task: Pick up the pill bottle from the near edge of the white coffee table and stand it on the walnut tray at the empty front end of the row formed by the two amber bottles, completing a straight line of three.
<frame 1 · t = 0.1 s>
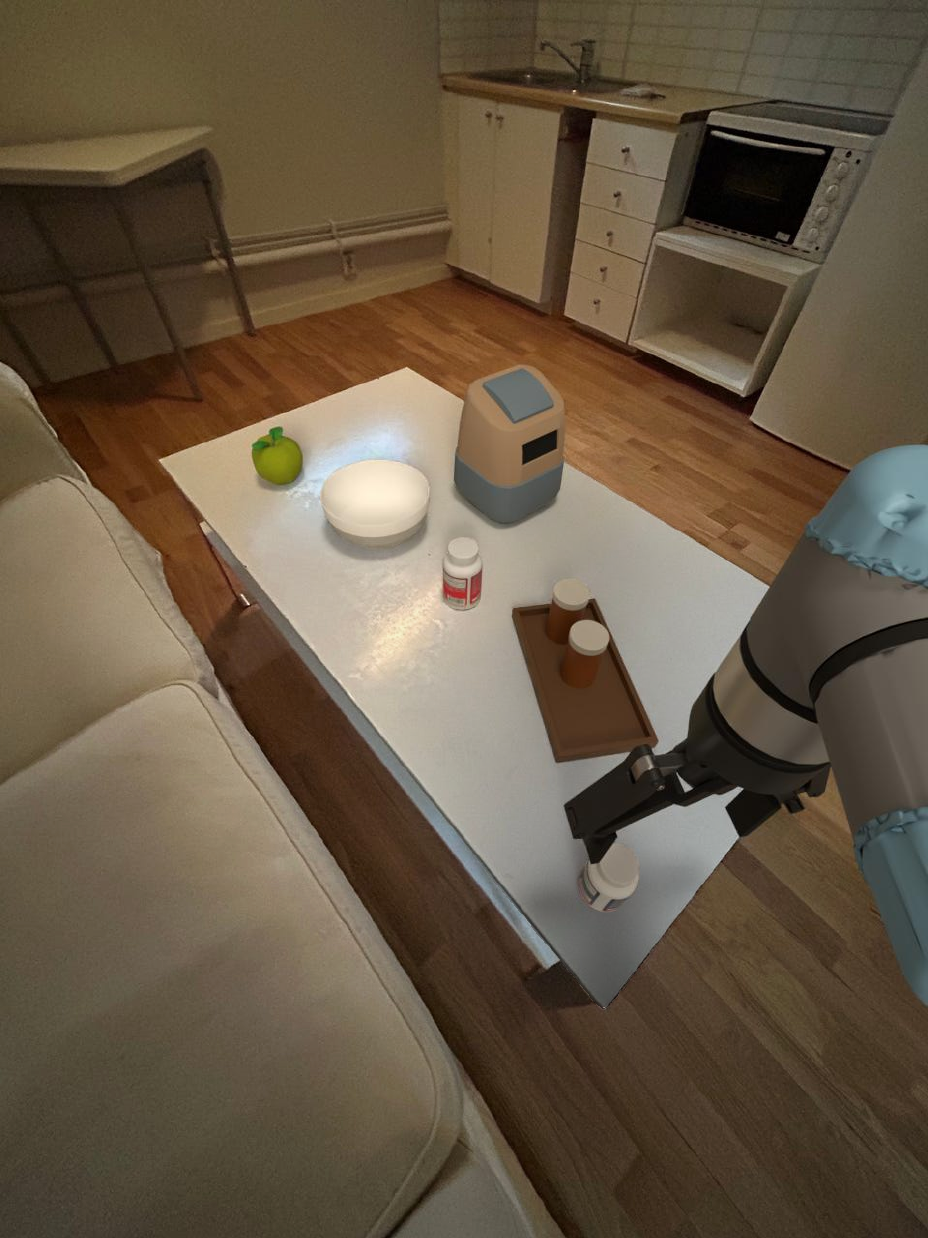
hand: (664, 834, 47), 18 cm above the table, tool pointing down, fingers open, 13 cm apart
pill bottle: (600, 887, 61), on the table
bowl: (380, 530, 100), on the table
amber bottle far: (561, 631, 84), resting on tray
pill bottle 2: (461, 598, 89), on the table
fruit: (284, 481, 109), on the table
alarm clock: (505, 498, 107), on the table
amber bottle middle: (577, 674, 79), resting on tray
tray: (576, 675, 79), on the table
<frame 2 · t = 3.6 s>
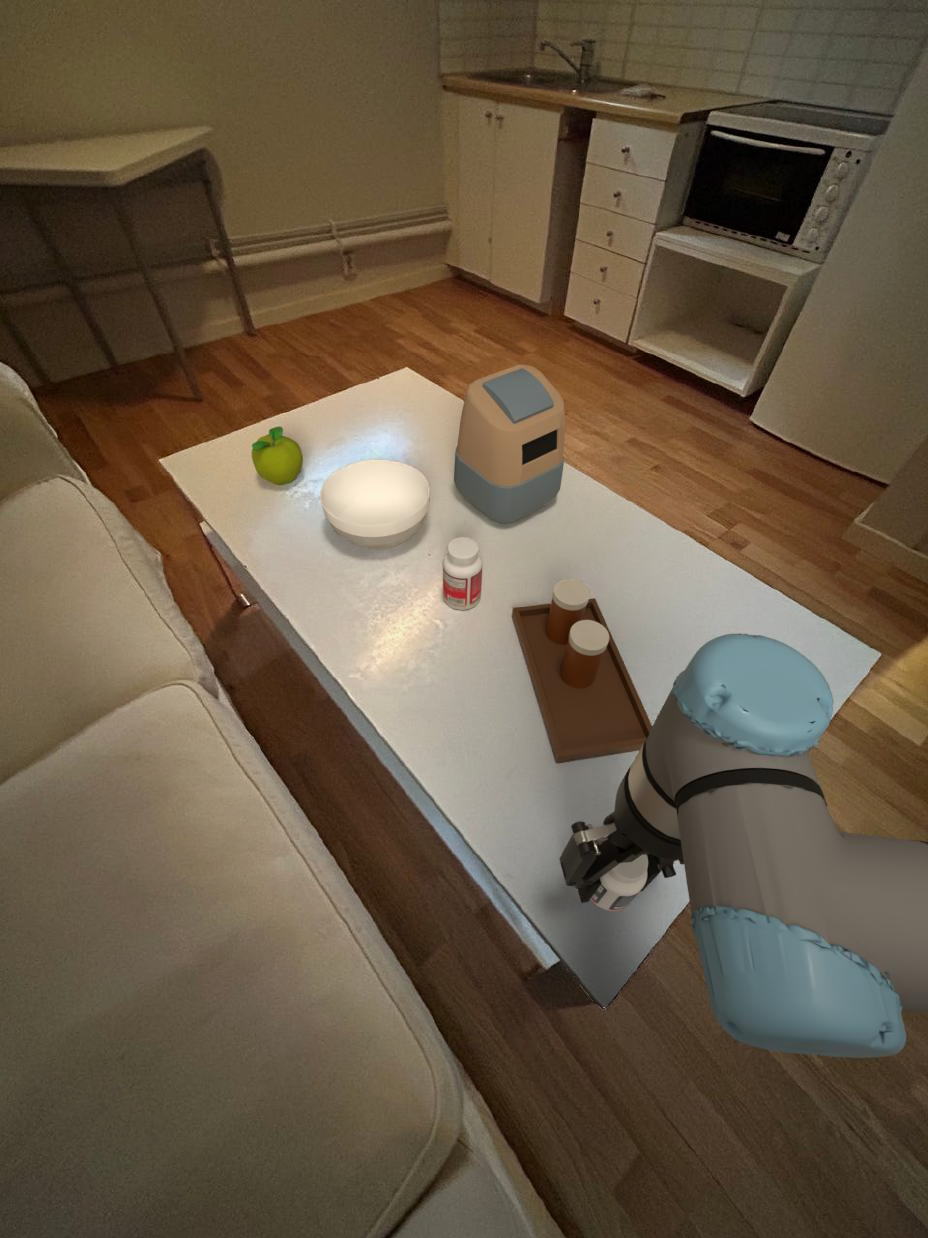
hand: (607, 883, 58), 3 cm above the table, tool pointing down, fingers closed on pill bottle, 5 cm apart
pill bottle: (607, 885, 58), point 3 cm above the table, touching gripper
everything else where it was.
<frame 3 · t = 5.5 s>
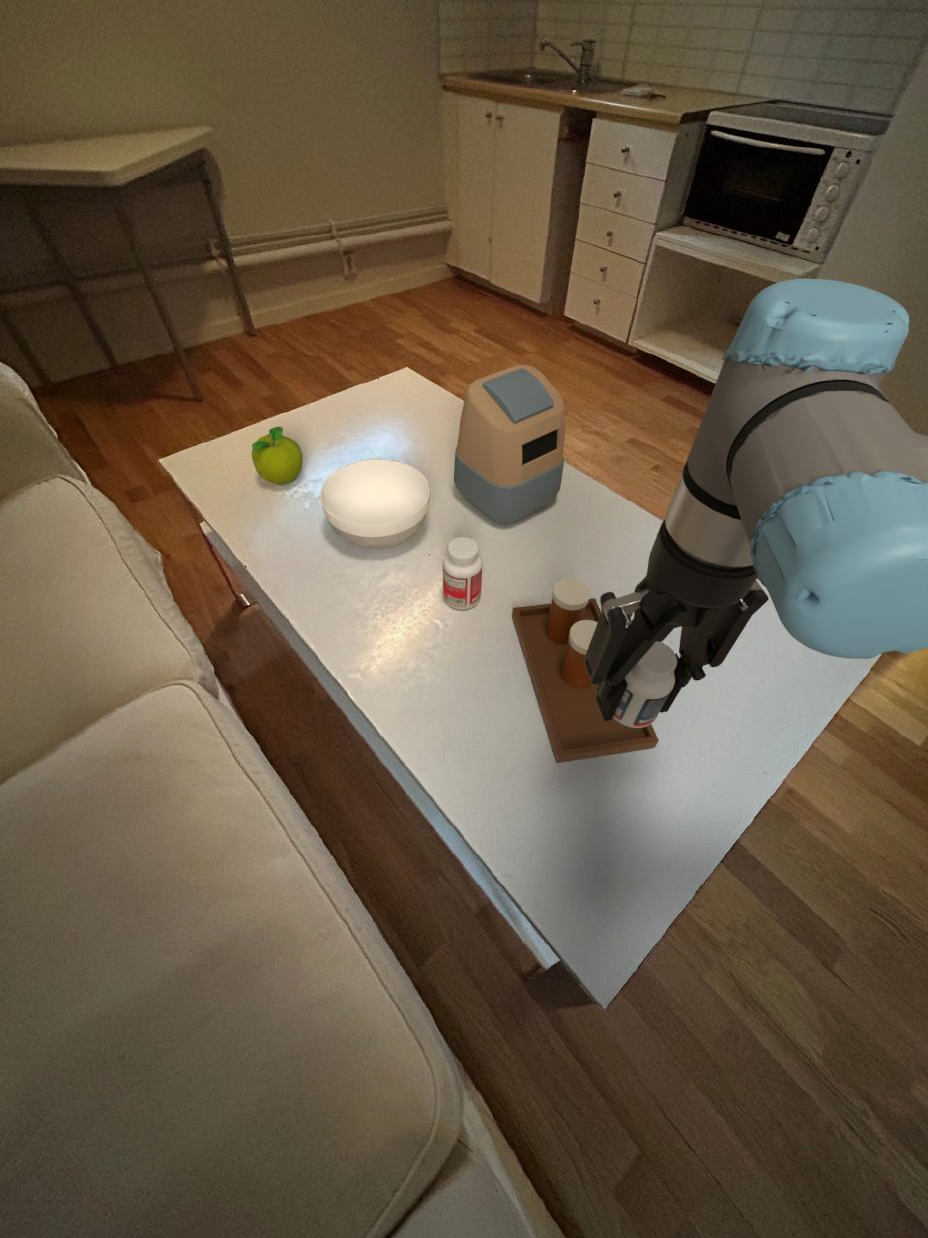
hand: (631, 704, 56), 17 cm above the table, tool pointing down, fingers closed on pill bottle, 5 cm apart
pill bottle: (630, 707, 56), point 17 cm above the table, touching gripper
everything else where it was.
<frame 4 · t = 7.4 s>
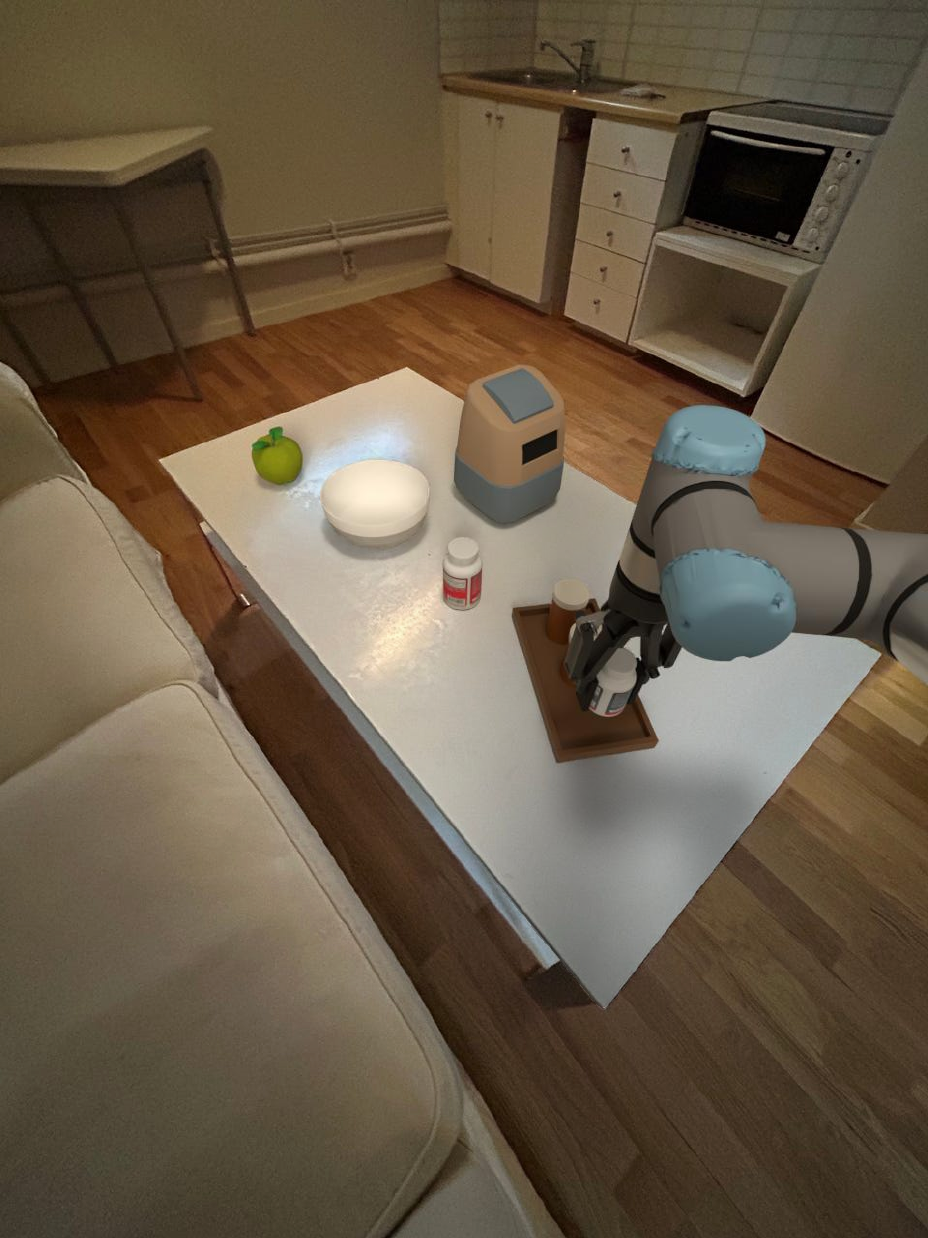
hand: (604, 698, 69), 6 cm above the table, tool pointing down, fingers closed on pill bottle, 5 cm apart
pill bottle: (603, 700, 70), point 6 cm above the table, touching gripper
everything else where it was.
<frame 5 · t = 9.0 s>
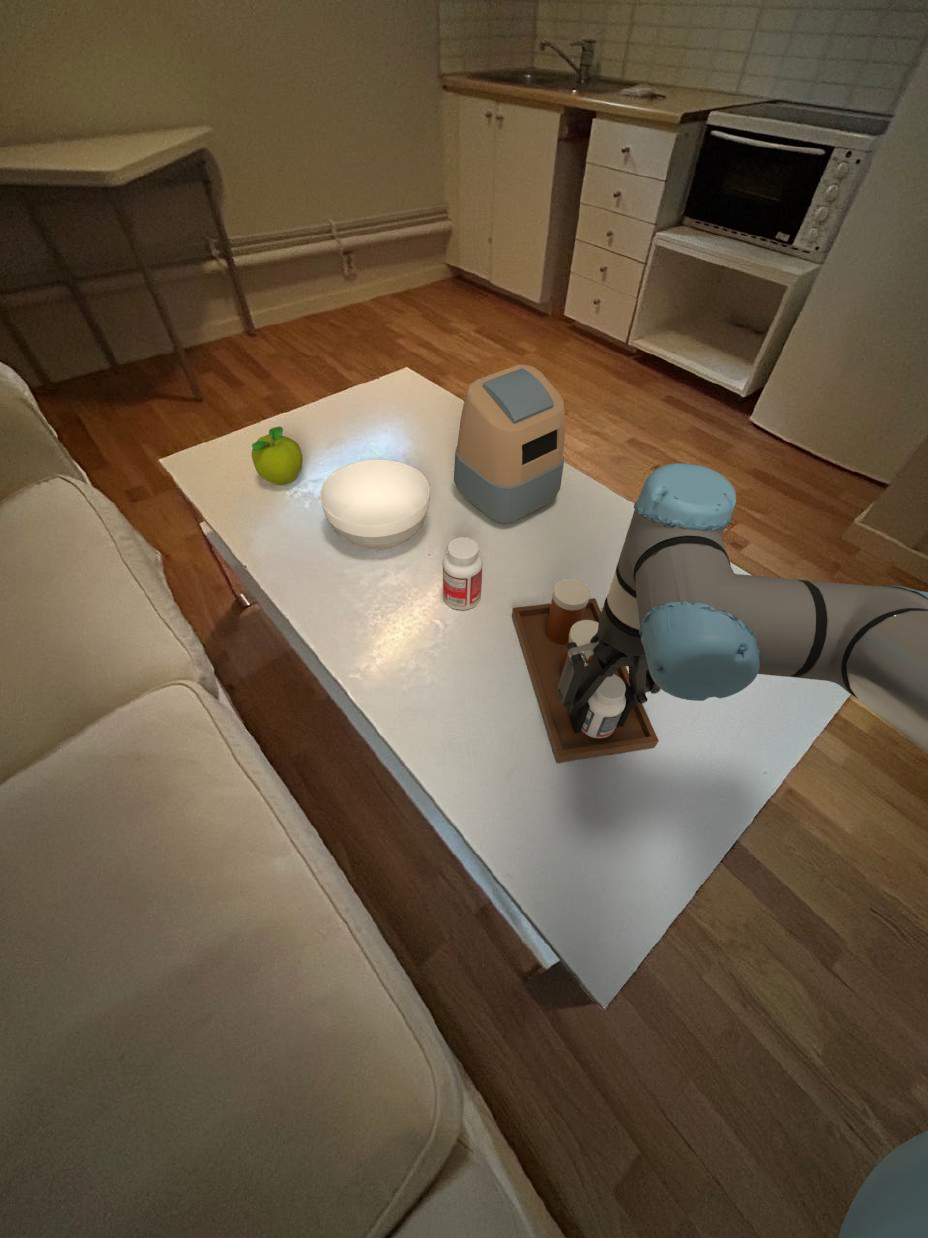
hand: (595, 720, 73), 1 cm above the table, tool pointing down, fingers closed on pill bottle, 5 cm apart
pill bottle: (595, 722, 74), point 1 cm above the table, touching gripper
everything else where it was.
when the fingers open (1 cm above the table, at t = 11.2 s): pill bottle stays where it is, resting on tray.
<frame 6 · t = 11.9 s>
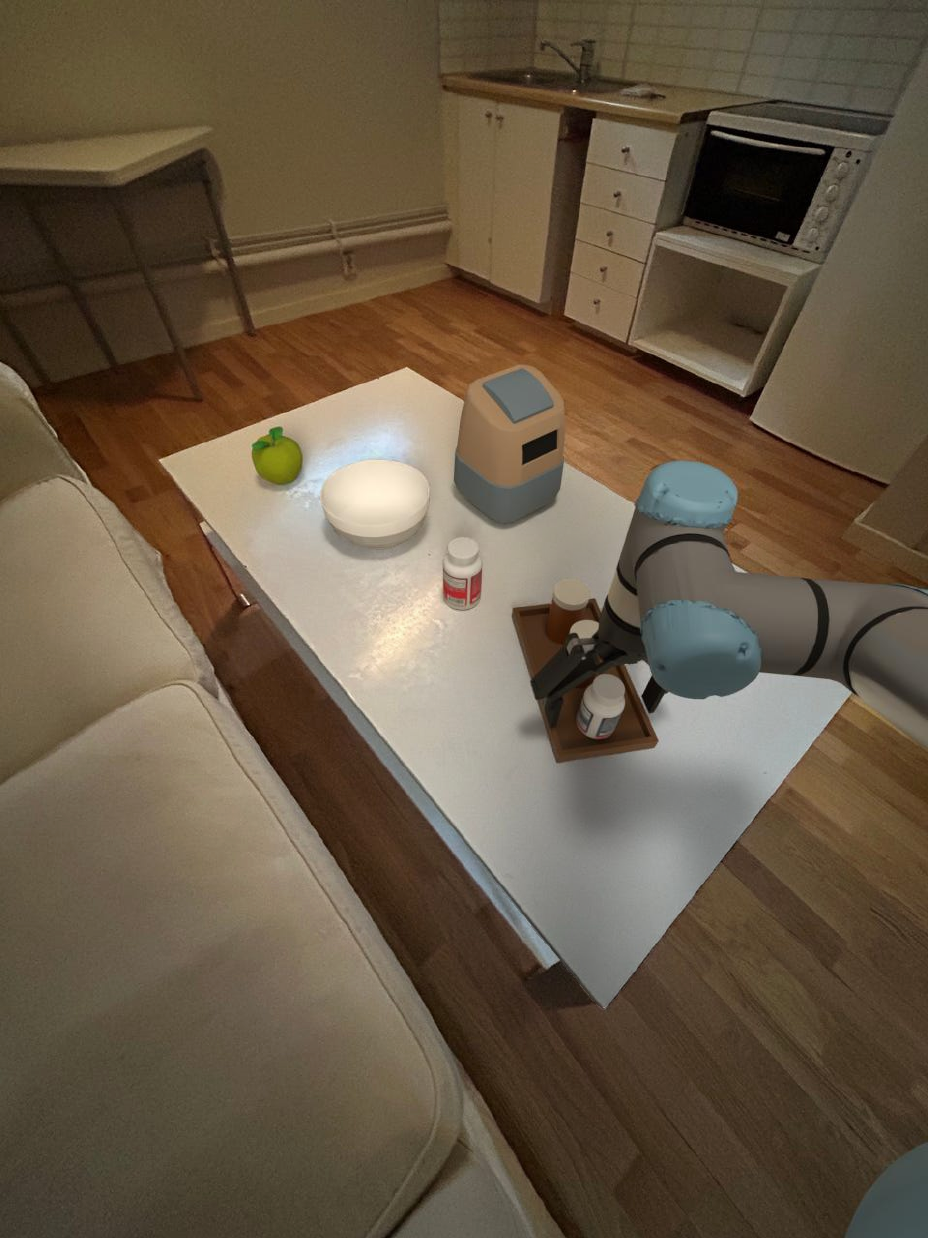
hand: (599, 711, 72), 3 cm above the table, tool pointing down, fingers open, 13 cm apart
pill bottle: (594, 723, 74), resting on tray
everything else where it was.
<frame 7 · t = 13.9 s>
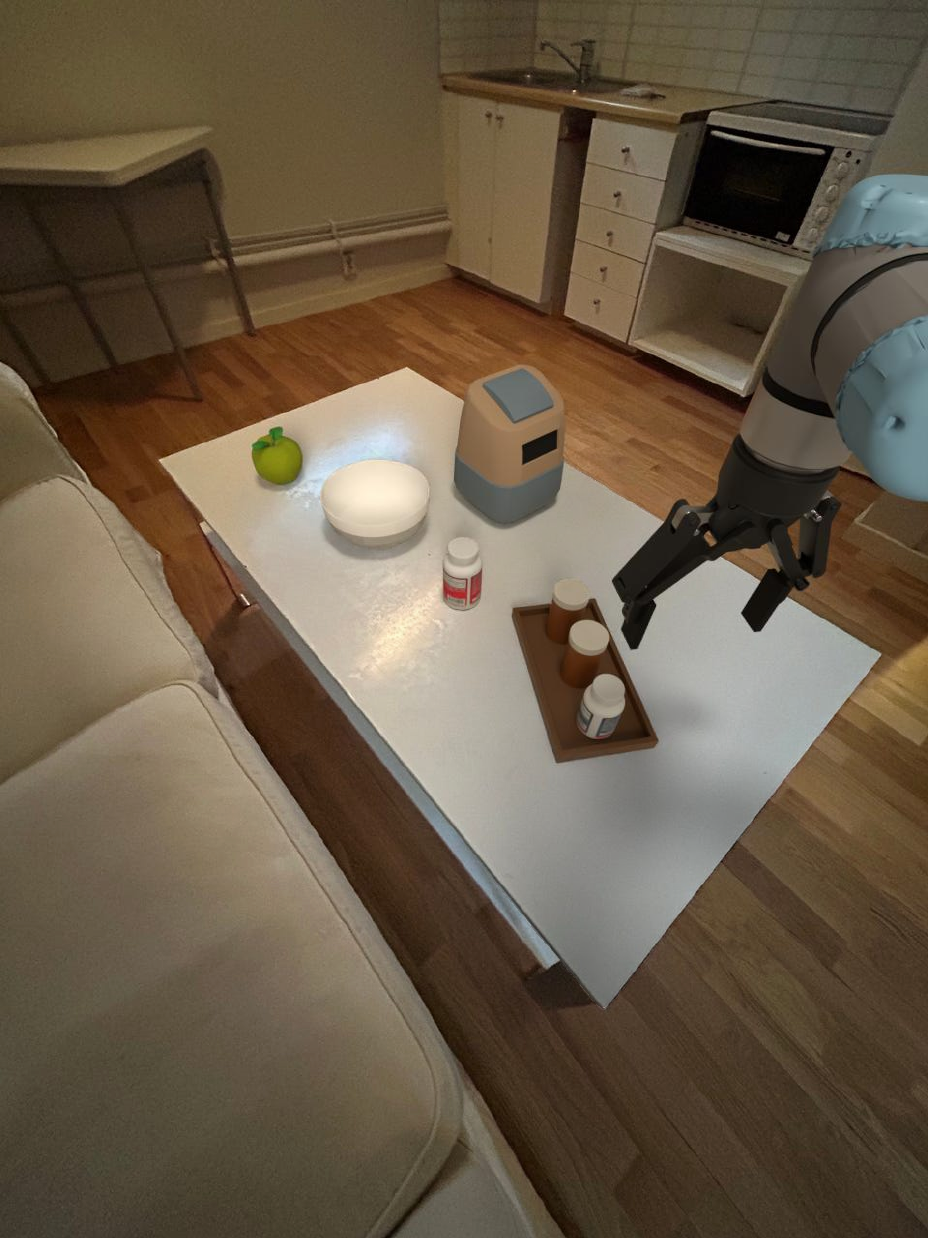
hand: (690, 630, 56), 23 cm above the table, tool pointing down, fingers open, 13 cm apart
nothing on the table moved.
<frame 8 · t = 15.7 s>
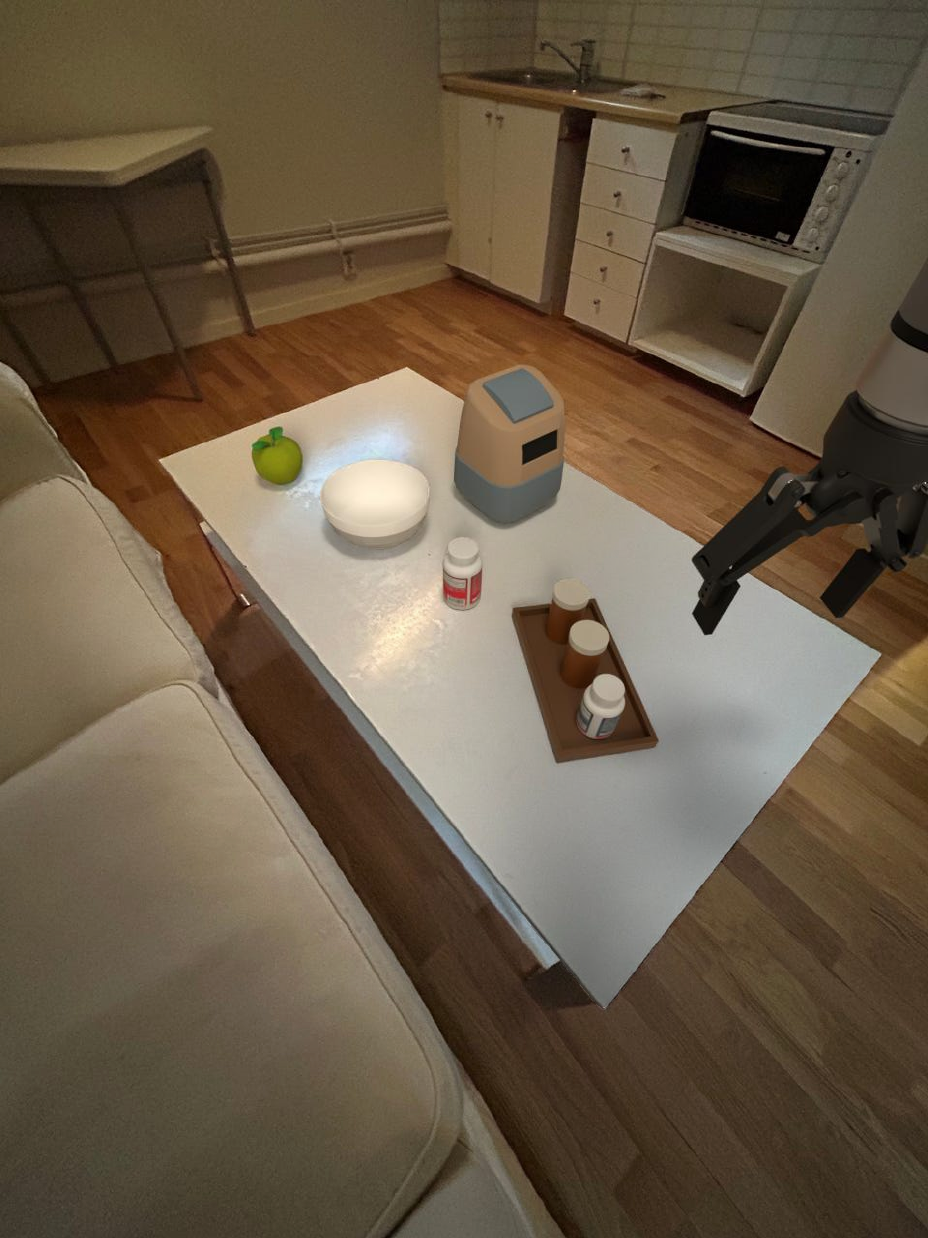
hand: (767, 615, 52), 27 cm above the table, tool pointing down, fingers open, 13 cm apart
nothing on the table moved.
at the end: pill bottle 0.1 cm from the target spot in the tray, point 0.3 cm above the tray's base; pill bottle tilted 0°; amber bottle middle moved 0.0 cm from its start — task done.
